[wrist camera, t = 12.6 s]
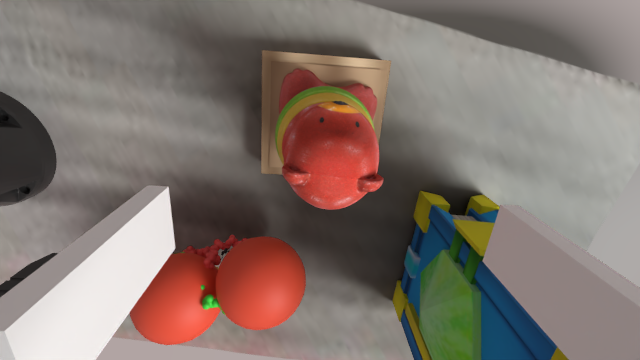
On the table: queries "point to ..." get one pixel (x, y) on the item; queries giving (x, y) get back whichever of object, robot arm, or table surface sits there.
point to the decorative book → (462, 291)
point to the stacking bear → (327, 140)
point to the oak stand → (329, 72)
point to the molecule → (221, 289)
